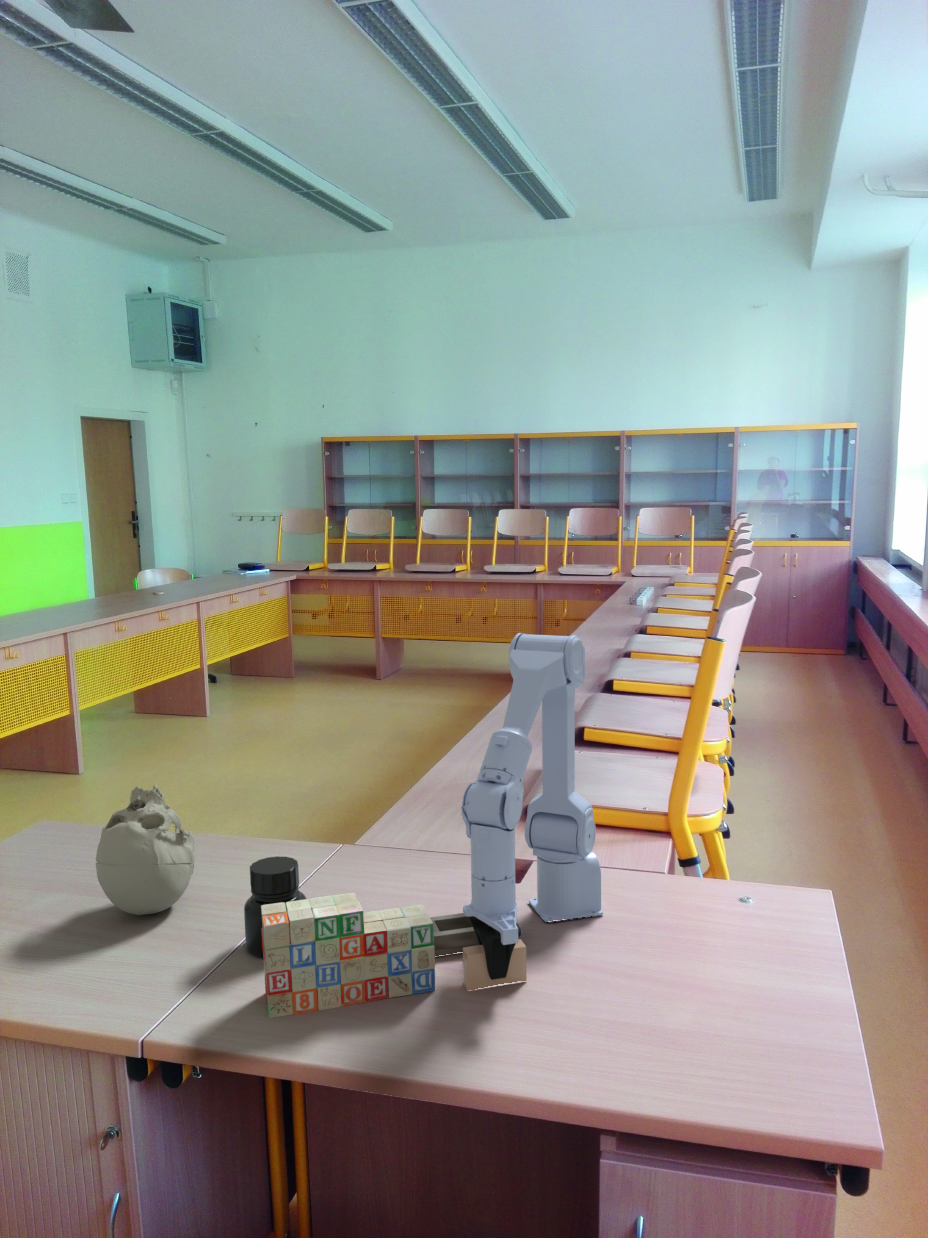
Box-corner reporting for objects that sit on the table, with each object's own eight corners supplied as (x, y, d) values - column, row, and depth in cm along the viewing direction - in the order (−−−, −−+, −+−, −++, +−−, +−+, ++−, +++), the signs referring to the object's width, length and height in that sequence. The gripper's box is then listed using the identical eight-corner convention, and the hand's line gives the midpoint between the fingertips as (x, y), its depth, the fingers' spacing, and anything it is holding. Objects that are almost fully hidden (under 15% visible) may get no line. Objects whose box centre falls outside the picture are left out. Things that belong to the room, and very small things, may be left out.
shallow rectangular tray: (505, 926, 135) (505, 907, 135) (519, 945, 129) (518, 925, 129) (424, 937, 132) (423, 917, 132) (434, 958, 126) (433, 937, 125)
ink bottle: (293, 964, 125) (289, 880, 123) (234, 959, 127) (229, 876, 125) (318, 932, 134) (315, 854, 133) (263, 928, 136) (259, 851, 135)
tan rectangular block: (521, 975, 121) (520, 939, 120) (526, 983, 119) (526, 946, 118) (463, 983, 119) (462, 947, 118) (467, 992, 117) (466, 955, 116)
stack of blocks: (425, 969, 123) (422, 882, 122) (436, 992, 117) (433, 901, 116) (264, 994, 117) (260, 903, 116) (267, 1020, 111) (262, 924, 110)
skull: (205, 894, 149) (199, 775, 146) (167, 936, 134) (159, 805, 132) (131, 892, 150) (124, 774, 148) (85, 933, 135) (76, 803, 133)
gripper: (449, 856, 123) (451, 951, 125) (478, 899, 109) (480, 1005, 111) (499, 850, 125) (500, 944, 126) (533, 892, 111) (535, 996, 112)
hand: (494, 972), depth 119 cm, fingers closed on tan rectangular block, 2 cm apart
